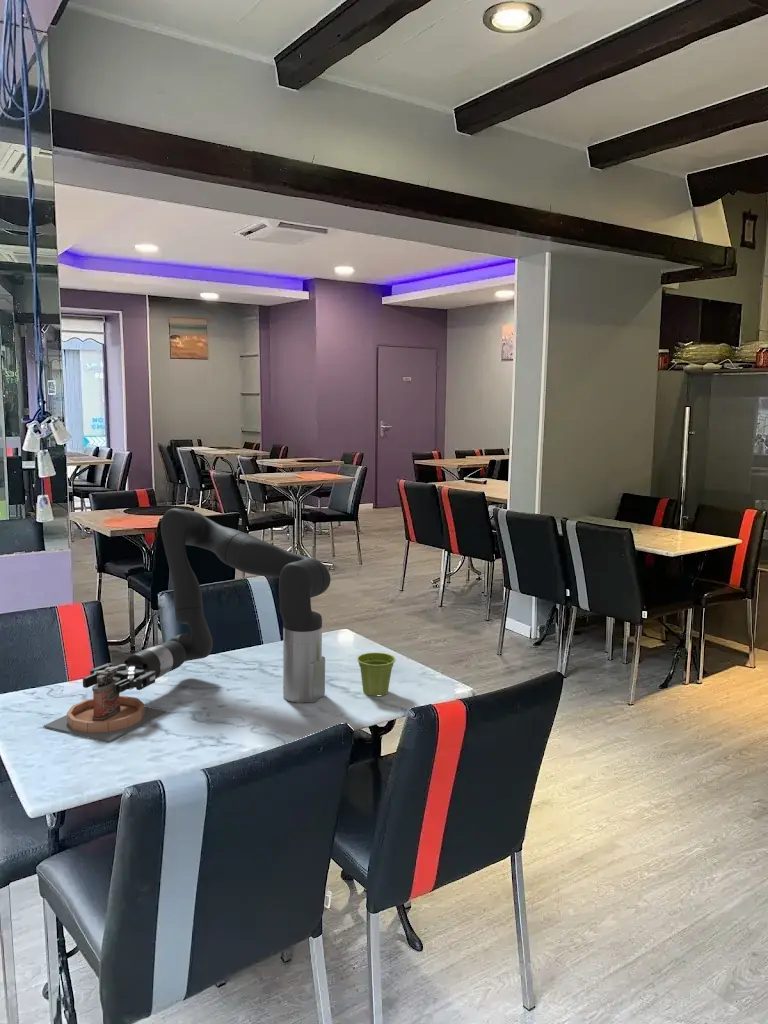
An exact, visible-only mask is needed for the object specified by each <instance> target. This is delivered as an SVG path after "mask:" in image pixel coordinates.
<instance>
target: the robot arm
mask: <svg viewBox="0 0 768 1024" xmlns="http://www.w3.org/2000/svg"><path fill="white" fill-rule="evenodd" d="M160 533H161V540H162V543H163V544H162V545H163V548H164V552H165V556H166V559H167V564H168V568H169V569H168V570H169V572H170V577H171V582H172V589H173V599H174V600H173V601H174V613H175V620H176V622H177V623H179V624H181V625H187V626H188V627H189V630H190V632H185V633H181V634H177V635H175V636H173V637H171V638H170V639H168V640H167V641H164V642H162V643H160V644H158V645H155V646H150V647H148V648H145V649H143V650H140V651H137V652H135V653H132V654H130V655H128V656H127V657H126V658H125V660H124V662H123V663H122V664H121V663H120V664H118V665H116V666H112V665H113V664H112V663H111V662H109V663H108V662H107V663H105V664H103V665H99V666H96V667H94V668H91V669H90V670H89V672H90V673H89V675H88V676H85V677H83V678H82V687H83V688H85V689H87V688H89V687H90V688H91V687H93V686H94V685H95V684H97V683H98V682H97V676H99V675H100V674H101V672H103V671H104V672H107V671H108V670H110V669H112V668H116V669H117V674H115V675H113V677H119V678H120V682H117V683H115V684H114V685H113V692H114V694H119V695H120V693H123V692H125V691H127V690H131V691H132V690H134V689H136V691H141V690H143V689H145V688H147V687H149V686H150V685H153V684H155V683H156V680H157V679H159V678H162V677H163V676H164V675H166V674H168V673H170V672H172V671H174V670H176V669H178V668H179V667H181V666H182V665H183V664H184V662H188V661H189V662H190V661H193V660H201V659H205V658H207V657H209V656H210V654H211V652H212V650H213V647H214V646H213V645H214V642H213V637H212V633H211V631H210V628H209V626H208V622H207V620H206V618H205V615H204V607H203V606H204V605H203V593H202V589H201V586H200V583H199V580H198V578H197V575H196V574H195V572H194V571H193V568H192V566H191V564H190V561H189V559H188V555H187V550H186V548H187V547H186V546H193V547H198V548H200V549H201V548H202V549H205V550H208V551H210V552H212V553H214V554H215V555H216V557H217V558H218V559H219V561H221V562H222V563H224V564H225V565H227V566H229V567H230V568H233V569H235V570H238V571H240V572H243V573H246V574H250V575H255V576H262V577H271V578H277V579H278V596H279V597H278V598H279V599H278V600H279V612H280V616H281V618H282V621H283V622H282V623H283V628H282V629H283V631H282V633H283V634H282V637H283V638H282V640H283V643H282V646H283V647H282V649H283V651H282V655H283V657H282V658H283V659H282V662H283V663H282V664H283V665H282V670H283V671H282V673H283V674H282V677H283V678H282V680H283V681H282V683H283V684H282V688H283V689H282V693H283V694H282V695H283V699H285V700H286V701H289V702H292V703H293V702H294V703H315V702H316V701H319V699H321V698H323V696H325V695H326V657H325V656H323V618H322V617H323V616H322V615H321V614H320V613H319V612H317V611H313V610H312V603H311V602H312V601H311V600H312V598H316V597H318V596H320V595H321V594H323V593H325V592H326V591H327V590H328V588H329V587H330V585H331V580H332V579H331V574H330V571H329V569H328V568H327V566H326V565H325V564H324V563H323V562H321V561H320V560H318V559H315V558H313V557H310V556H307V555H306V556H305V555H301V554H297V553H294V552H292V551H289V550H285V549H284V548H281V547H279V546H277V545H274V544H272V543H270V542H267V541H265V540H262V539H260V538H259V537H257V536H253V535H251V534H249V533H246V532H244V531H241V530H238V529H236V528H235V529H234V528H232V527H231V528H230V527H226V526H223V525H222V524H219V523H217V522H216V521H214V520H212V519H210V518H208V517H206V516H205V515H203V514H201V513H200V512H197V511H194V510H189V509H183V508H170V509H168V510H167V511H165V513H164V514H163V516H162V517H161V520H160Z"/></svg>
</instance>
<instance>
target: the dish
mask: <svg viewBox="0 0 768 1024" xmlns="http://www.w3.org/2000/svg"><path fill="white" fill-rule="evenodd" d="M119 706H120V712H119V713H117V714H116V715H115V716H113V717H111V718H110V719H108V720H105V721H93V716H94V712H93V698H89V699H85V700H82V701H80V702H78V703H76V704H74V705H72V706H71V707H70V708H69V709H68V711H67V712H66V715H67V723H68V725H69V726H70V727H71V728H72V729H74V730H78V731H83V732H87V733H92V732H110V731H115V730H119V729H123V728H128V727H130V726H132V725H134V724H135V723H137V722H139V721H141V720H142V718H143V716H144V714H145V706H146V705H145V703H144V702H143V701H142V700H140V699H139V698H137V697H132V696H127V695H119Z"/></svg>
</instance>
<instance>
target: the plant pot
mask: <svg viewBox="0 0 768 1024" xmlns="http://www.w3.org/2000/svg"><path fill="white" fill-rule="evenodd" d="M356 660H357V662H358V666H359V667H360V674H361V675H360V677H361V684H362V692H363V694H365V695H366V694H367V695H366V696H369V695H370V696H374V695H375V697H378V696H377V695H383V696H385V695H384V694H386V693H387V694H388V692H389V687H390V681H391V674H392V669H393V667H394V664H395V662H396V661H397V660H396V657H395V656H394V655H392V654H389V653H385V652H366V653H362V654H360V655H358V657H357V658H356ZM387 694H386V695H387Z"/></svg>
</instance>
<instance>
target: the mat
mask: <svg viewBox="0 0 768 1024" xmlns="http://www.w3.org/2000/svg"><path fill="white" fill-rule="evenodd" d="M165 713H167V710H165V709H161V708H156V707H151V706H146V705H145V714H144V716H143V718H142V720H141V721H139V722H137V723H135V724H134V725H132V726H130V727H128V728H123V729H119V730H115V731H110V732H92V733H87V732H83V731H78V730H74V729H72V728H71V727H70V726H69V725H68V723H67V714H65V715H63V716H62V717H60V718H57V719H55V720H53V721H51V722H48V723H46V724H44V725H43V728H44V727H45V728H44V729H48V728H50V729H49V730H52V729H54V730H53V731H57V730H58V731H57V732H61V731H62V732H61V733H65V732H66V733H67V734H70V733H71V734H72V735H75V736H80V737H84V738H87V737H89V738H88V739H92V738H93V739H92V740H96V739H97V740H98V741H102V742H105V741H106V742H105V743H109V742H110V743H112V742H113V741H115V740H118V739H119V738H121V737H123V736H124V735H127V734H128V733H130V732H133V731H134V730H135V729H138V728H140V727H141V726H143V725H145V724H147V723H149V722H151V721H153V720H154V719H156V718H158V717H160V716H162V715H164V714H165ZM71 734H70V735H71ZM111 741H112V742H111Z"/></svg>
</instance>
